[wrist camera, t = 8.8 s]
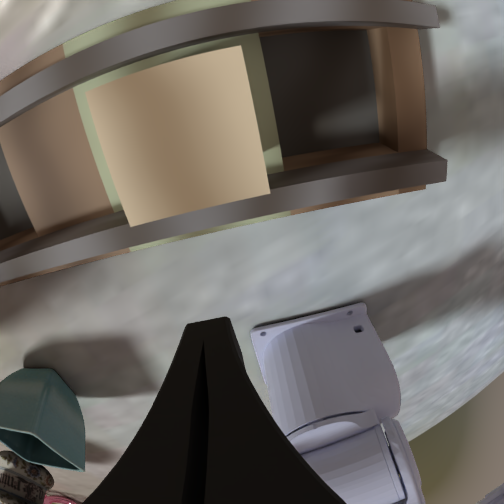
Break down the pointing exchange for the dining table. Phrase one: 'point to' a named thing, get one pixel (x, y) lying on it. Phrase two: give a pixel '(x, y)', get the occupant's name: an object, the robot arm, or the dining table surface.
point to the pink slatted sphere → (55, 498)
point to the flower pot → (42, 419)
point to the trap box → (266, 110)
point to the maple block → (181, 136)
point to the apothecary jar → (22, 480)
